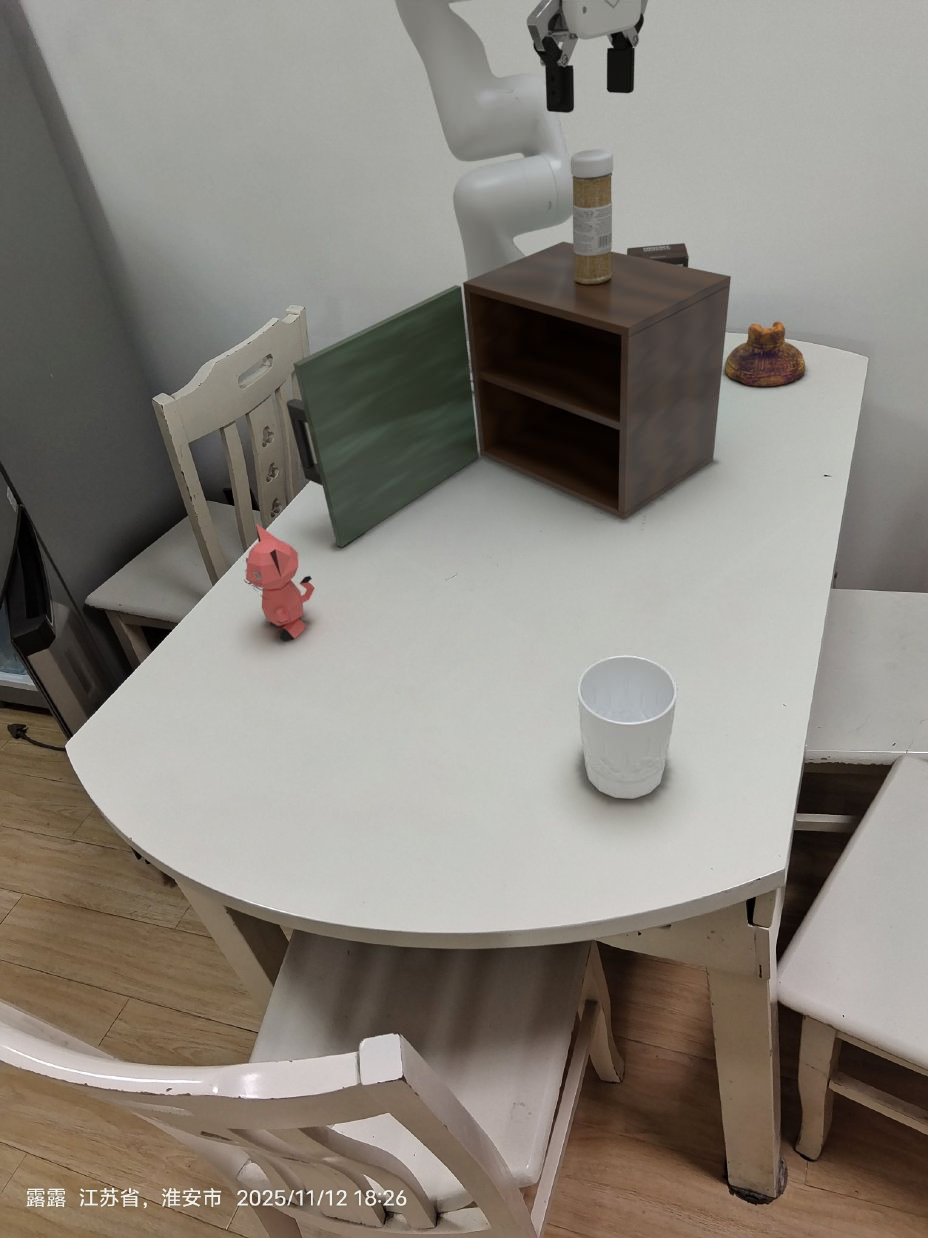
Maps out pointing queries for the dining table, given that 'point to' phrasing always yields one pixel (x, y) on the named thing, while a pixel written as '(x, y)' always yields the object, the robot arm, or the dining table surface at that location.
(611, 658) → the white cup
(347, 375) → the door
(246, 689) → the dining table surface
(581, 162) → the sprinkles bottle
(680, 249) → the coffee box
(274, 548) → the cat figurine
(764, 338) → the bell
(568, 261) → the cupboard
